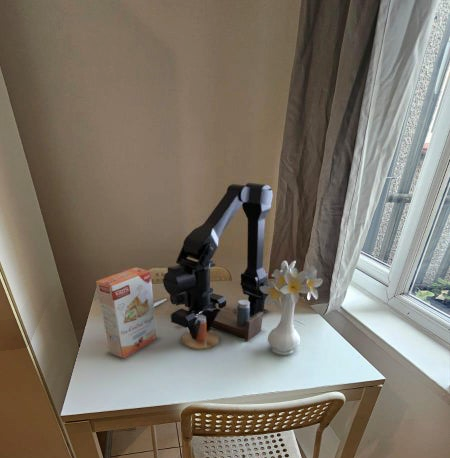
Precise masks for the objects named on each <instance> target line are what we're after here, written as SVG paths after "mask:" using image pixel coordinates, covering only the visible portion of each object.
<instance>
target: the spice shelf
mask: <svg viewBox="0 0 450 458" xmlns="http://www.w3.org/2000/svg"><path fill="white" fill-rule="evenodd" d="M216 308H217V309H220V312H219V313H218V314H217V316H216V318H215V320H214V321H213V323H212V325H211V327H210V329H213V330H216V331H219V332H221V333H225V334H227V335H229V336H233V337H236V338H238V339H241V340H243V341H247V342H249V341H250V340H251V339H253V338H254V337H255V336H257V335H258V334H260V333H261V332H262V325H263V316H264V314H263V313H262V312H259V313H257V314H255V315H254V316H252V315H251V317H249V319H248V320H246V326H240V325H238V324H237V313H234V312H230V311H228V310H224V309H221V308H219V307H216ZM189 310H190V307H188V311H189ZM198 315H203V314H202V313H200V314H198Z"/></svg>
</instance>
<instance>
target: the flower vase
mask: <svg viewBox="0 0 450 458" xmlns="http://www.w3.org/2000/svg"><path fill="white" fill-rule="evenodd" d="M296 263H297V261H296V260H293V261H292V262H291V263H290V264H288V261H287V260H283V261H281V264H280V269H278V268H277V269H275V270H273V273H271V277H272V278H274V279H275V280H273V281H272V280H267V281H268V287H264V286H260V287H259V289H260V290H261V291H262V292H263V293H265V294H269V295H268V296H267V297H266V299H265V304H264V305H266V306H270V305H271V304H272V303H274V305H275V306H276V308H277V309H278V310H281V309H282V313H281V316H280V320H279V323H278V324H277V326H276V327H274V328H273V329H272V330H271V331H270V332H269V333H268V335H267V343H268V345H269V346H270V347H271V350H272V351H273V352H274V353H275V354H278V355H280V356H281V355H282V356H287V355H290V354H292V353H293V351H295V350H296V349H297V348H298V347H299V346H300V345H301V337H300V335H299V333H298V331H297V330H296V329H295V326H294V315H295V306H296V304H297V303H298V302H299V299H300V294H306V298H307V300H308V301H310V300H311V298H312V297H313V299H315V300H318V299H319V292H318V290H317V288H318V287H320V286H322V284H323V278H317V276H318V269H316V267H315V266H314V265H311V266H310V263H309V261H308V259H306V258H305V270H303V271H300V272H299V270H298V269H297V268H296V267H295V266H296ZM305 279H306V283H303V282H304V281H305ZM281 299H283V307H282V301H281Z"/></svg>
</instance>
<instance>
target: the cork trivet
mask: <svg viewBox="0 0 450 458" xmlns="http://www.w3.org/2000/svg"><path fill="white" fill-rule="evenodd" d="M181 341H182V344H183V345H184V346H185V347H186V348H189V349H192V350H197V351H198V350H199V351H201V350H209V349H212V348H214V347H216V346H217V345H218V343H219V336H218V334H217V333H216V332H215V333H214V332H213V331H210V330H209V331H208V332H207V339H206V340H205V341H202V342H199V341H196V340H194V339H192V336H191V334H190V332H189V331H188V332H186V333H184V335H182V338H181Z"/></svg>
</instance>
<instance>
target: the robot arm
mask: <svg viewBox="0 0 450 458" xmlns="http://www.w3.org/2000/svg"><path fill="white" fill-rule="evenodd" d="M272 201H273V189H272V188H271V187H270V185H268V184H262V183H257V182H247V183H246V184H237V183H232V184H229V185H228V187H227V188H226V192H225V194H224V195H223V197H222V198H221V199H220V201H219V202H218V203H217V205H216V206H215V207H214V209H213V210H212V212H211V213H210V215H208V218H207V219H206V220H205V222H203V224H201V225H199V226H198V227H196V228H194V229H192V231H190V232H189V234H188V235H187V236H185V238H184V240H183V243H182V247H181V249H180V251H179V253H178V256H177V258H176V260H175V263H176V264H177V265H174V266H172V265H171V266H168V267H167V272H165V274H164V275H163V278H162V283H163V284H162V285H163V287H164V290H165V291H166V293H167V294H169V300H170V303H171V304H172V305H175V306H181V305H184V307H185V308H189V307H190V310H189V309H188V310H187V309H184V308H179V309H177V310H175V311H173V312H171V314H170V322H171V323H172V324H175V325H178V326H180V327H183V328H187V329H188V332H190V334H191V336H192V339H194V340H196V338H197V335H198V331H199V327H200V323H201V321H198V320H197V316H198V314H200V313H202V314H203V315H204V316H206V321H207V332H208V331H210V329H211V325H212V323H213V321H214V320H215V318H216V316H217V314H218V313H219V312H220V309H221V310H223V308H225V307H226V306H227V299H226V297H225V296H223V295H220V294H217V293H214V288H213V287H211V268H212V267H216V265H217V263H216V262H214V261H213V260H212V259H213V257H214V255H215V253H216V251H217V249H218V247H219V240H220V239H219V238H220V237H221V235H222V234H223V232H224V231H225V229H226V228H227V226H228V225H229V224H230V222H231V221H232V219H233V218H234V216H235V215H236V214H237V212H238V211H239V209H240V208H241V207H242V210H243V212H244V214H245V216H246V219H247V241H246V242H247V244H246V246H247V248H246V249H247V250H246V251H247V252H246V254H247V256H246V259H247V261H246V268H245V270H244V272H242V273H241V274H240V284H239V285H240V287H241V289H242V294H243V295H245V296H248V297H247V301H249V302H250V313H249V316H251V317H252V316H254V315H255V314H257V313H259V312H262V313H263V315H265V314H266V313H268V309H266V308H265V305H266V304H265V299H266V297H267V296H268V295H269V294H265V293H263V292H262V291H261V290H260V289H259V287H260V286H264V287H268V281H269V280H268V274H267V272H266V270H265V269H264V248H265V247H264V246H265V226H266V225H265V222H266V217H267V215H268V214H269V213H270V211H271V209H272ZM189 258H190V259H189ZM212 292H213V293H212ZM210 293H211V294H210ZM217 308H218V309H217Z"/></svg>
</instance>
